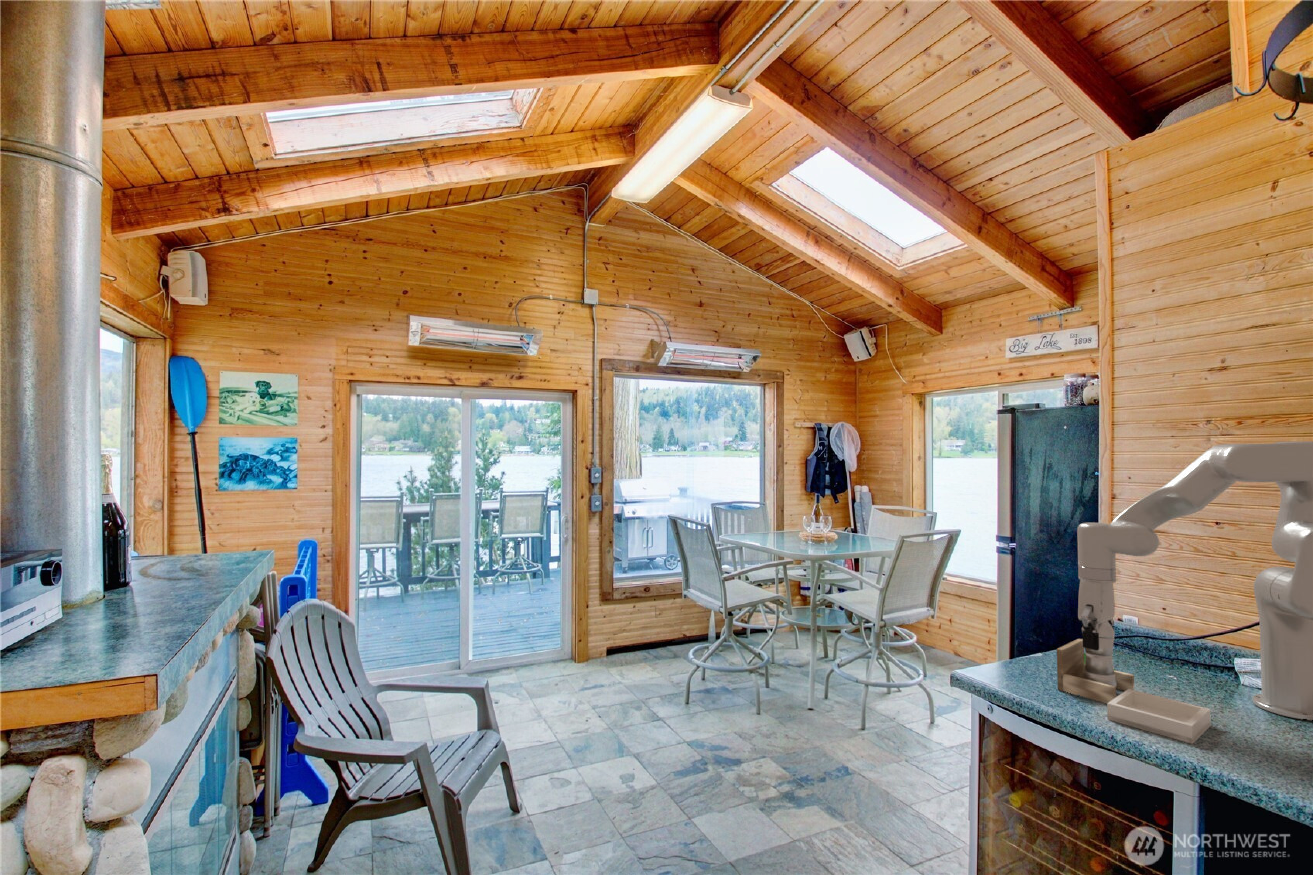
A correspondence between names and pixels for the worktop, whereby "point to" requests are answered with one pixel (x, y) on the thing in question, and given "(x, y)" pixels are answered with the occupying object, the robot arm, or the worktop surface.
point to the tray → (1159, 715)
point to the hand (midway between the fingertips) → (1098, 644)
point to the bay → (1073, 672)
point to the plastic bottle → (1101, 657)
